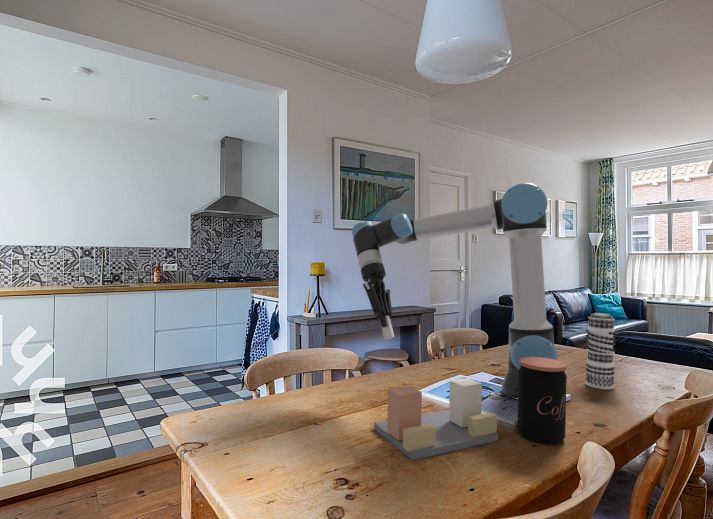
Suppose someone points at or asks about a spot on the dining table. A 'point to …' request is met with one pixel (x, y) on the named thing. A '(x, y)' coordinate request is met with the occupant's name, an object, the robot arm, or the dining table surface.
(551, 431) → the coffee jar
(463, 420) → the cream key
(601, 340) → the white patterned cylinder
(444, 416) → the board
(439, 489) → the dining table surface
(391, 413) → the terracotta key
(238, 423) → the dining table surface
